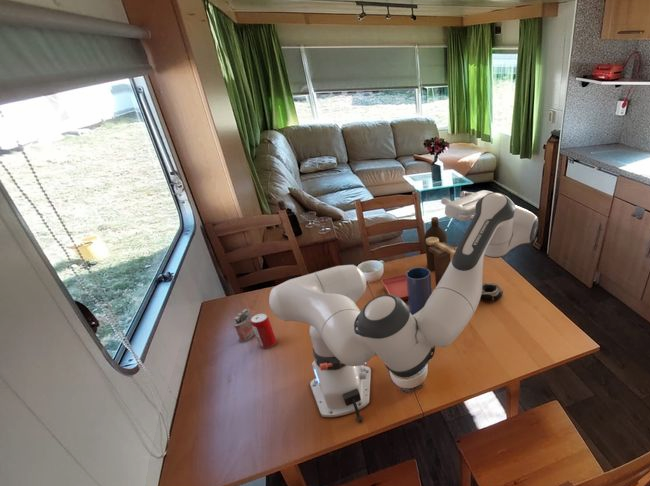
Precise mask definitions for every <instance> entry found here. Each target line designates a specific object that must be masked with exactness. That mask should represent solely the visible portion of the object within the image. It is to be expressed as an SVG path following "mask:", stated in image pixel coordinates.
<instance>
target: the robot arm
mask: <svg viewBox="0 0 650 486" xmlns="http://www.w3.org/2000/svg"><path fill="white" fill-rule="evenodd" d="M459 196H460V197H459V198H457V199H455V200H450V198H449V197H446V196H444V197H442V198H441V201H440V202H441V204H442V205H445V207H444V208H445V209H444V215H445V216H446V217H448V218H450V219H454V220H456V221H459V222H469V221H471V222H470V224H469V225H468V227H467V229H466V230H465V233H464V234H463V236H462V237H461V239H460V242H459V243H458V245H457V247H456V248H455V253H454V255H452V257H451V258H450V263H449V266H448V268H447V269H446V271H445V273H444V275H443V276H442V278H441V280H440V281H439V283H438V285H437V286H436V285H435V287H434V289H433V290H432V294H431V295H430V297H429V298H428V300H427V302H426V304H425V306H424V307H423V308H422V309H421V310H420V311H419V312H417V313H415V314H414V315H412V314H411V313H410V310H409V305H408V304H407V303H406V302H405V300H402V299H400V298H399V297H398V296H396V295H389V294H382V295H377V296H375V297H373V298H372V299H370V300H369V301H368V302H367V303H366V304H365V305H364V306H363V307H362V308H361V309H360V308H359V307H358V305H357V303H358V302H359V300H360V299H361V298H362V297H363V296H364V295H365V292H366V291H367V279H366V276H365V273H364V272H363V271H362V269H360V267H358V266H357V265H355V264H344V265H336V266H332V267H328V268H325V269H322V270H318V271H315V272H312V273H308V274H305V275H301V276H298V277H294V278H291V279H288V280H286V281H284V282H282V283H280V284H278V285H276V286H273V287H272V288H271V290H270V292H269V296H268V305H269V308H270V310H271V312H272V313H273V314H274V316H275V317H277V318H278V319H279V320H281V321H284V322H298V323H304V324H306V325H309V331H308V334H309V337H310V340H311V344H312V354H313V358H314V360H313V361H312V363H311V366H312V369H313V373H314V377H315V378H314V379H312V380H311V381H310V383H309V385H310V389H311V392H312V395H313V398H314V400H315V403H316V406H317V408H318V410H319V413H320V414H319V415H320V416H321V417H324V418H338V417H341V416H342V417H343V416H346V415H350V414H352V413H354V412H355V414H356V418H357V420H358V422H359V423H362V422H363V420H362V418H361V414H360V412H359V410H362V409H363V408H365V407H366V406H368V405H369V403H370V396H371V378H372V377H371V376H372V370H371V367H369V366H366V365H365V364H367V363H368V362H369V361H370V360H371V359H372V358H373V357H377V356H378V357H379V359H380V360H381V362H382V363H384V366H385V367H386V369H387V370H388V371H389V372H390V373H392V374H393V375H394V376H396V377H398V378H403V379H404V378H405V379H406V378H410V377H413V376H415V375H417V374H418V373H420V372H421V371H422V370H423V369H424V368H425V367H426V366H427V365H428V363H429V362H430V360H432V359H433V357H434V355H435V352H436V348H446V347H448V346H450V345H451V344H453V342H454V341H456V340H457V338H458V337H459V336H460V335H461V334H462V332H463V331H464V330H465V329H466V327H467V326H468V324H469V322H470V321H471V319H472V318H473V316H474V314H475V313H476V311H477V309H478V306H479V303H480V301H481V300H480V298H481V294H482V284H483V270H484V268H483V267H484V259H485V257H487V258H491V259H500V258H502V257H503V258H504V257H506V255H508V254H509V252H510V251H511V250H513V249H515V248H516V247H518V246H519V245H524V244H530V243H532V242H533V241H534V240H535V238H536V235H537V232H538V231H539V230H538V229H539V217H538V216H537V215H536V214H534V213H533V212H532V211H529V210H528V209H526V208H523V207H521V206H518V205H516V204H515V203H514V202H513V200H511V198H510V197H508V196H507V195H506V194H503V193H502V192H494V191H490V190H485V189H483V190H479V191H476V192H472V191H466V190H462V191H460V192H459Z"/></svg>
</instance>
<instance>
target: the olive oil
mask: <svg viewBox="0 0 650 486" xmlns="http://www.w3.org/2000/svg"><path fill="white" fill-rule="evenodd" d="M430 219H431V221H430V224H431V226H430V227H429V228H428V229H427V230H426V231H425V233H424V235H423V236H424V238H423V239H424V246H425V256H426V266H427V267H426V268H427V269H428V270H429V271H434V272H435V264H434V254H433V253H432V252H430V251H429V247H431V246H434V245H427V244H426V239H427V238H429V237H437V238H438V239H439V242H440V243H442V242H444V243H446V244H448V235H447V232H446V231H445V230H444V229H443V228H442V227H441V226H440V225H439V223H440V222H439V217H437V216H433V217H431V218H430Z"/></svg>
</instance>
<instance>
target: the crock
mask: <svg viewBox="0 0 650 486" xmlns="http://www.w3.org/2000/svg"><path fill="white" fill-rule="evenodd" d="M405 274H406V282H407V292H408V299H407V300H408V301H407V302H408V308H409V310H410V313H411V314H412V315H414V314H415V313H417V312H419V311H420V310H421V309H422V308H423V307H424V306H425V304H426V302H427V300H428V298H429V297H430V295H431V294H432V292H433V290H431V288H432V277H431V270H430V269H428V268H427V267H423V266H422V267H421V266H418V267H413V268H410V269H408V270H406V272H405Z"/></svg>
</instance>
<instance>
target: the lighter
mask: <svg viewBox="0 0 650 486" xmlns="http://www.w3.org/2000/svg"><path fill="white" fill-rule="evenodd" d="M253 316H254V315H253V313H252V312H250V310H249V309H248V308H245V309H243V310H242V311H241V312H240V313H239V312H238V313H237V315H236V316H235V317H234V323H233V324H232V325H233V327H234V328H235V331H236V334H237V336H238V339H239V342H241V343H245V342H247V341H248V340H250V339H251V338H253V337H254V336H255V335H256V334H255V332H254V329H253V327H252V323H251V319H252V317H253Z"/></svg>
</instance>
